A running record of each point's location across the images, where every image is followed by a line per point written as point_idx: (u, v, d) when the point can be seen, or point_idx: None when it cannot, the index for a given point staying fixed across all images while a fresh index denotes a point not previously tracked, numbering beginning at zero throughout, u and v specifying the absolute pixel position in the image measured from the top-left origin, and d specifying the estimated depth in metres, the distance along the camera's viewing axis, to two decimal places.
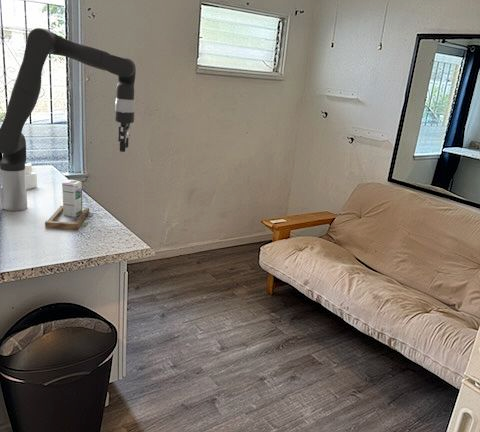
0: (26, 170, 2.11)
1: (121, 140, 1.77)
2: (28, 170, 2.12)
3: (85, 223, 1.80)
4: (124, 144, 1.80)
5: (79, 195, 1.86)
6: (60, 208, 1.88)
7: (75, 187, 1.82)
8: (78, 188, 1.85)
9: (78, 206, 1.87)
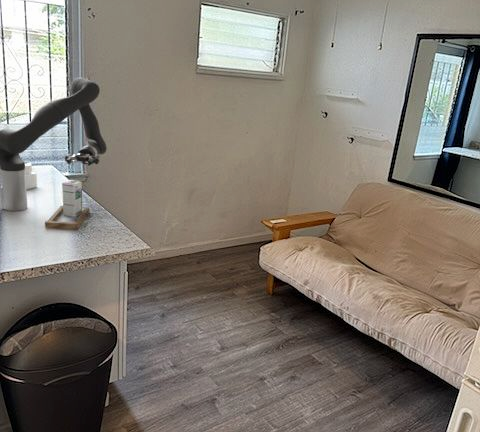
0: (26, 170, 2.11)
1: (97, 161, 1.98)
2: (28, 170, 2.12)
3: (85, 223, 1.80)
4: None
5: (79, 195, 1.86)
6: (60, 208, 1.88)
7: (75, 187, 1.82)
8: (78, 188, 1.85)
9: (78, 206, 1.87)
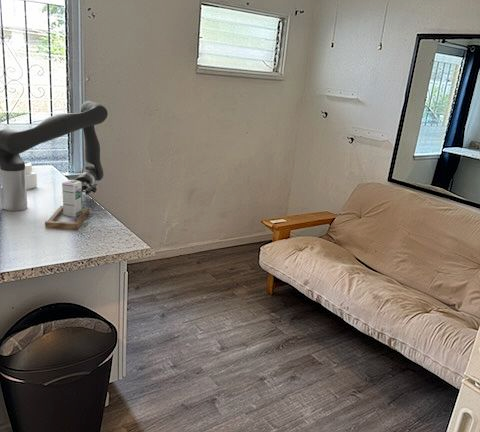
0: (26, 170, 2.11)
1: (95, 189, 1.98)
2: (28, 170, 2.12)
3: (85, 223, 1.80)
4: None
5: (79, 195, 1.86)
6: (60, 208, 1.88)
7: (75, 187, 1.82)
8: (78, 188, 1.85)
9: (78, 206, 1.87)
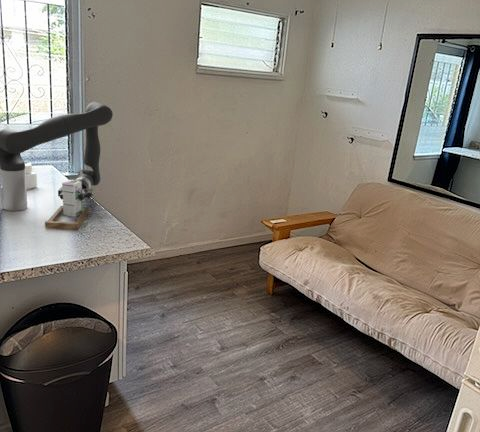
0: (26, 170, 2.11)
1: (89, 195, 1.90)
2: (28, 170, 2.12)
3: (85, 223, 1.80)
4: None
5: (79, 195, 1.86)
6: (60, 208, 1.88)
7: (75, 187, 1.82)
8: (78, 188, 1.84)
9: (78, 206, 1.87)
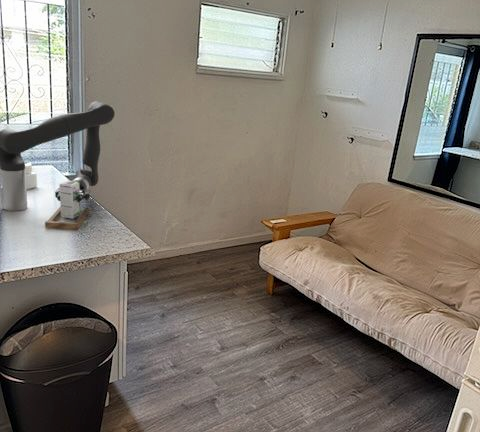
0: (26, 170, 2.11)
1: (87, 196, 1.86)
2: (28, 170, 2.12)
3: (85, 223, 1.80)
4: None
5: (76, 196, 1.82)
6: (60, 208, 1.88)
7: (72, 189, 1.78)
8: (75, 189, 1.81)
9: (76, 207, 1.83)
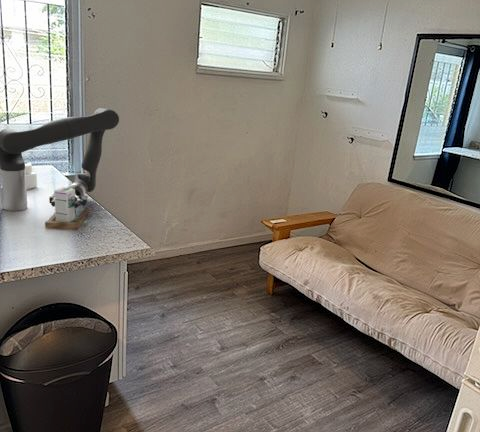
0: (26, 170, 2.11)
1: (85, 202, 1.80)
2: (28, 170, 2.12)
3: (85, 223, 1.80)
4: None
5: (72, 203, 1.76)
6: None
7: (68, 195, 1.72)
8: (71, 195, 1.74)
9: (72, 215, 1.77)
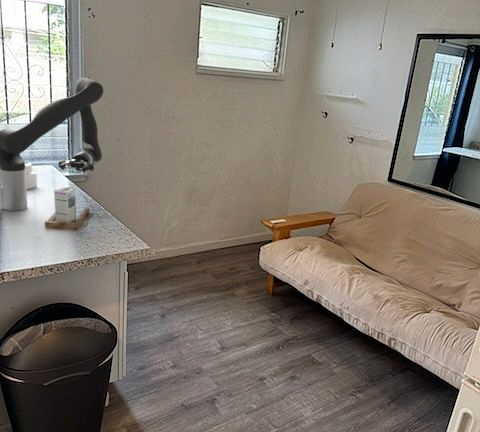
0: (26, 170, 2.11)
1: (92, 167, 1.90)
2: (28, 170, 2.12)
3: (85, 223, 1.80)
4: None
5: (72, 203, 1.76)
6: None
7: (68, 195, 1.72)
8: (71, 195, 1.74)
9: (72, 215, 1.77)
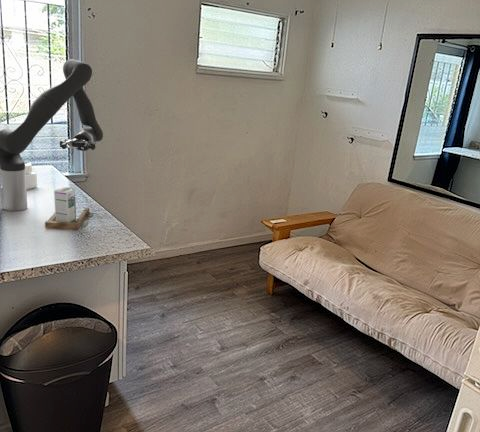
0: (26, 170, 2.11)
1: (93, 146, 1.89)
2: (28, 170, 2.12)
3: (85, 223, 1.80)
4: None
5: (72, 203, 1.76)
6: None
7: (68, 195, 1.72)
8: (71, 195, 1.74)
9: (72, 215, 1.77)
